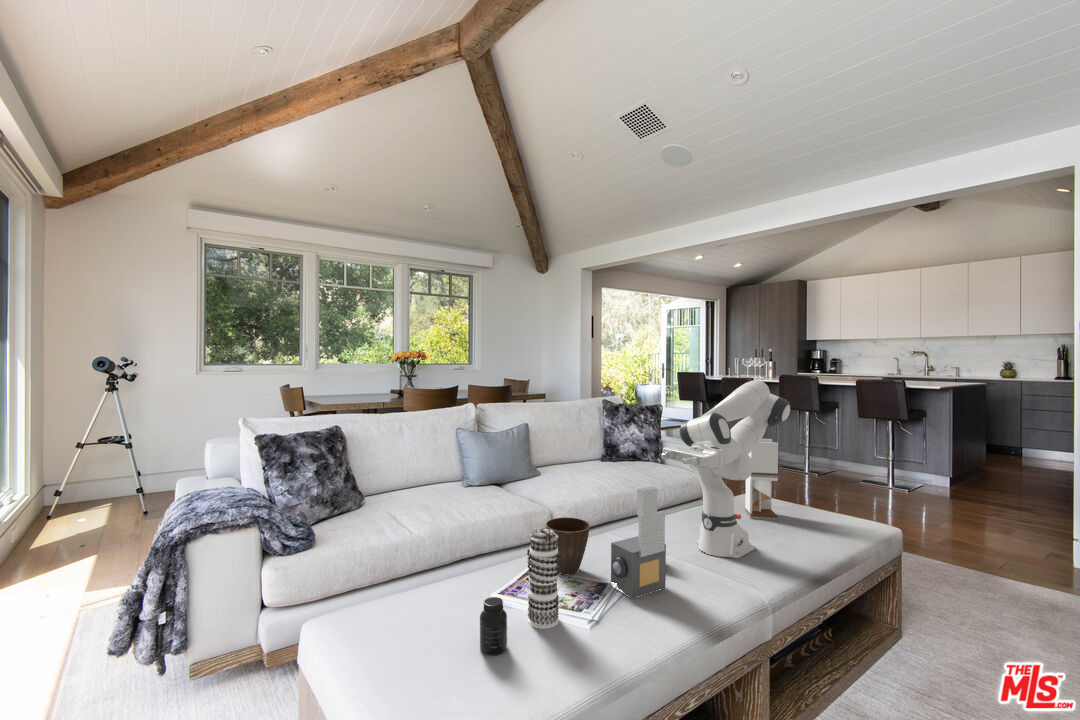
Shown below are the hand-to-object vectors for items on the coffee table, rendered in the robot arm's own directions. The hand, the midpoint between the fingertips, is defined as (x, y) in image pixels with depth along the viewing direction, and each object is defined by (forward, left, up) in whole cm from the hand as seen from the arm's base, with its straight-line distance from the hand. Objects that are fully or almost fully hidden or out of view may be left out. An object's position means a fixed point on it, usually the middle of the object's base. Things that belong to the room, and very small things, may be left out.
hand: (673, 458), depth 170 cm
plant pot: (+25, -24, -40) cm, 53 cm away
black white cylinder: (+50, 0, -40) cm, 64 cm away
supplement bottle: (+68, +5, -40) cm, 79 cm away
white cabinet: (-87, -28, -40) cm, 100 cm away
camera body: (+13, -2, -40) cm, 42 cm away
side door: (+13, +4, -27) cm, 31 cm away
